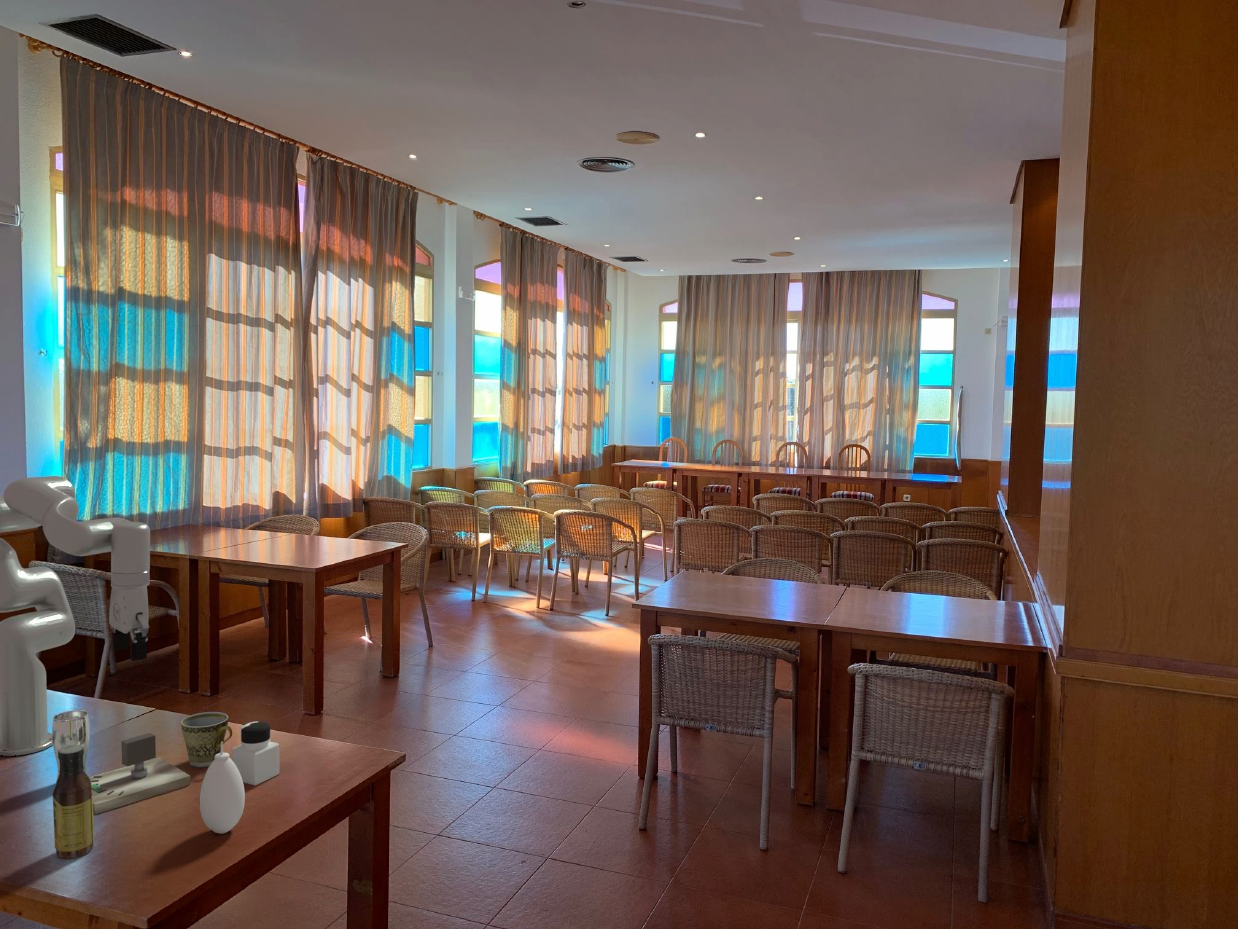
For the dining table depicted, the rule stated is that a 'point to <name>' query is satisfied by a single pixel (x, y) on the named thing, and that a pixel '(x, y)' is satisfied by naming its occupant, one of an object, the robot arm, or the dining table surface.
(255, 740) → the medicine bottle
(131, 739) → the grey block on stem
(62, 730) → the beer glass
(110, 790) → the tuner board
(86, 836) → the sauce bottle
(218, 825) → the white air blower bulb
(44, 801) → the dining table surface
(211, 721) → the ceramic cup
